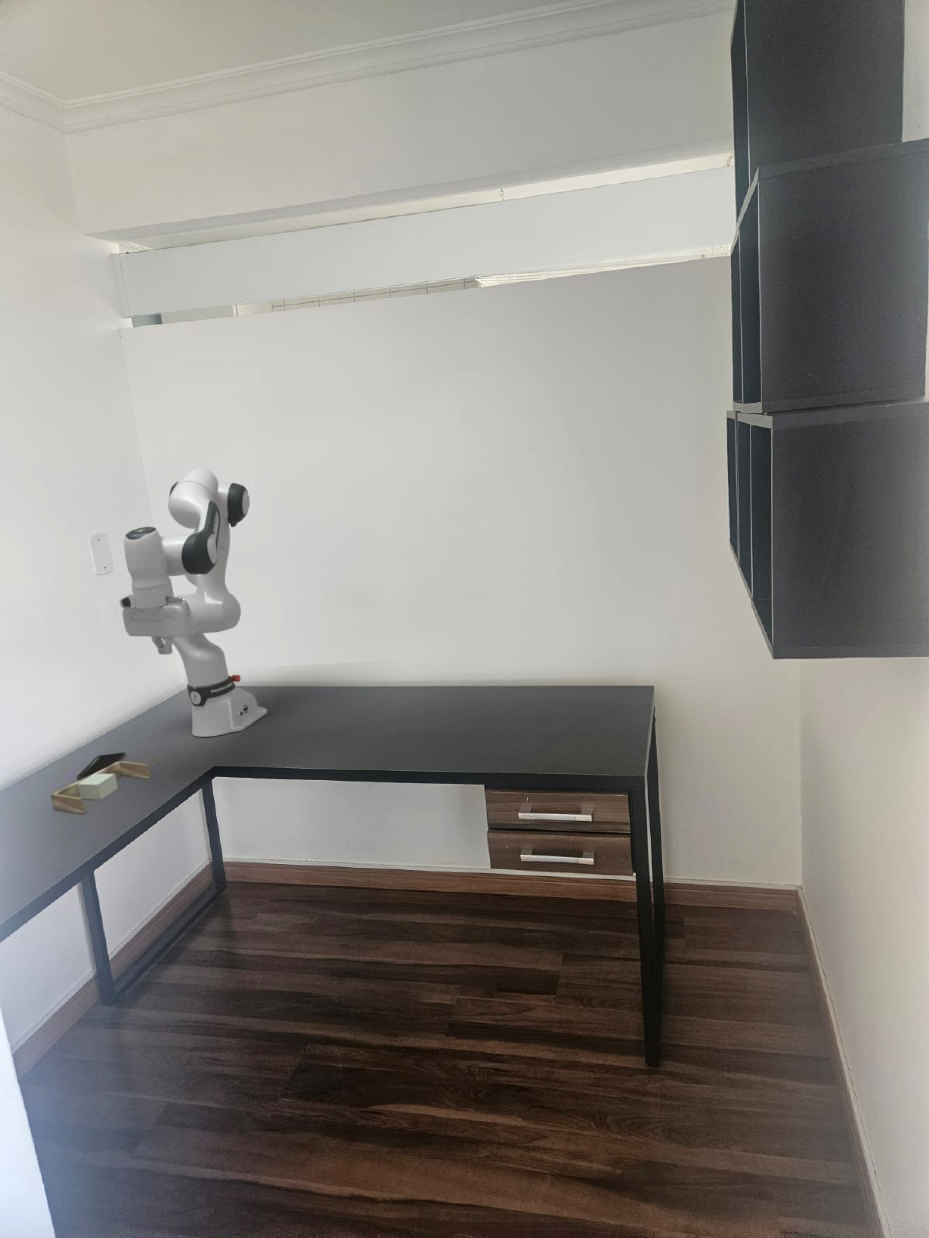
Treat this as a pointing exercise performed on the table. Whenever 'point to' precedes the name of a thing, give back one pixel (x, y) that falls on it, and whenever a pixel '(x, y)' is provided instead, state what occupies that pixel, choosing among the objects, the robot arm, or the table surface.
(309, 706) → the table surface
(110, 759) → the phone
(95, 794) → the sage block
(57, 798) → the wooden u-shaped bracket
